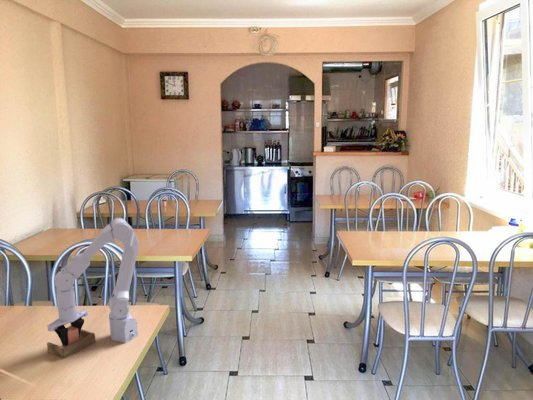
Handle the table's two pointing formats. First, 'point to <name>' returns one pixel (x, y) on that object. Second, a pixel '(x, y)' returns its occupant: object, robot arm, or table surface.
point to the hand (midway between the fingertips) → (70, 342)
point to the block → (72, 335)
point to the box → (72, 345)
